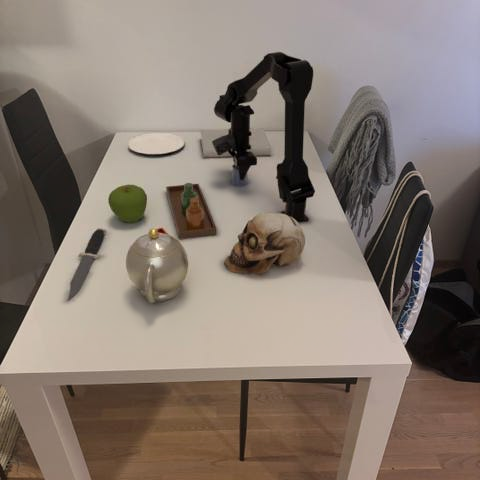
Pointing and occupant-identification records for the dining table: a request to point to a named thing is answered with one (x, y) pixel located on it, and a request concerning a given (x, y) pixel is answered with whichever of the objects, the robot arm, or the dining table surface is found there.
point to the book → (256, 141)
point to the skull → (266, 244)
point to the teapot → (157, 265)
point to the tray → (180, 219)
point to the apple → (128, 203)
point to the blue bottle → (237, 176)
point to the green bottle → (187, 196)
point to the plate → (156, 143)
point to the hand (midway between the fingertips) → (239, 176)
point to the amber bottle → (195, 215)
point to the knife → (86, 261)
